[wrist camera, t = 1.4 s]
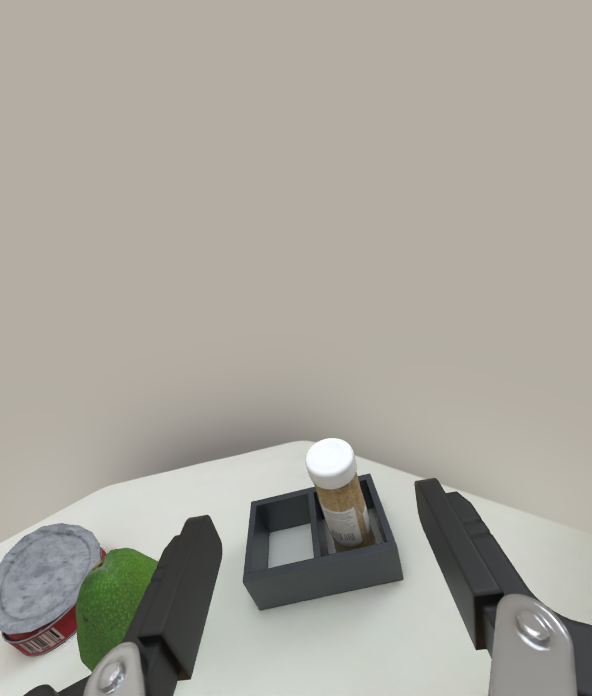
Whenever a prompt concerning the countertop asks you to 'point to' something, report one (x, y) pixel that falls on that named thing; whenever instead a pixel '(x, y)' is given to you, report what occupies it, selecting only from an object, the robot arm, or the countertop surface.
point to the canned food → (45, 586)
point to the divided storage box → (323, 569)
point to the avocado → (110, 601)
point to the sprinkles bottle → (340, 493)
